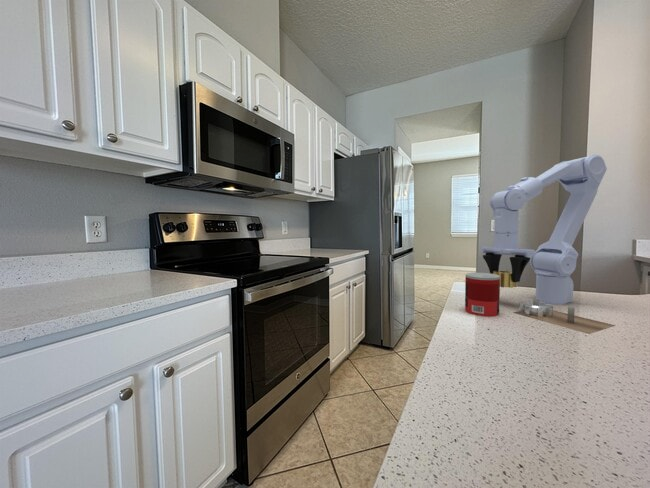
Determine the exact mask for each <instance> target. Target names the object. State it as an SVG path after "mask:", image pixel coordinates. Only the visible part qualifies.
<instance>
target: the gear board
mask: <svg viewBox="0 0 650 488" xmlns="http://www.w3.org/2000/svg"><path fill="white" fill-rule="evenodd" d="M532 301H533V305H536V306H539V303H540V301H539V300H536V298H534V299H532ZM575 309H576V307H573V306H572V307H571V306H568V307H567V313H565V312H561V311H558V310H554V309H553V315H552V317H546V316H544V317H543V318H541V317H537V316H533V315H530V316H528V315H525V313H520V312H519V310H517V311H514V312H513V311H512V313H513V314H517V315H521V316H524V317H527V318H531V319H534V320H539V321H541V322H545V323H548V324H552V325H555V326H559V327H563V328H566V329H571V330H574V331H578V332H581V333H583V334H584V333H585V334H589V335H591V334H594V333H597V332H600V331H602V330H606V329H610V328H613V327H615V326H616V325H615V324H611V323H608V322H603V321H599V320H596V319H591V318H587V317H583V316H578V315H575V314H576V313H575V312H576V311H575Z"/></svg>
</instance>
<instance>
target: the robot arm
mask: <svg viewBox="0 0 650 488" xmlns="http://www.w3.org/2000/svg"><path fill="white" fill-rule="evenodd" d="M607 170H608V169H607V166H606V163H605V159H604V158H603V157H602V156H601V155H599V154H590V155H589V156H584V157H579V158H575V159H570V160H564V161H561V162H559V163H557V164H554V165H553V167H552V166H551V168H549V169H547V170H546V171H544V172H542V173H540V175H538V176H536V177H533V176H530V177H528V176H525V177H522V178H520V179H519V182H517V183H515V184H514V185H513V184H512V185H509V186H507V187H506V189H505V190H502V191H497V192H496V193H494V195H492V197H491V201H489V206H490V208H491V210H492V216H493V217H494V223H493V224H494V225H493V226H494V228H493V239H494V240H493V246H479V247H480V249H479V250H480V251H479V253H480V254H484V255H482V258H483V260H484V262H485V263H486V264H487V268H488V271H489V273H490V274H493V271H497V270H500V262H501V258H502V257H503V255H505V256H509V260H510V265H511V271H512V282H517V283H520V282H521V277H522V274H523V273H524V269H526V266H527V265H528V264H529V265H530V267H531V268H532V269H533V270H534V271H533V272H534V273H535V274H536V275H535V277H536V279H535V299H536V300H539V303H545V304H548V305H550V304H551V305H566V304H568V303H573V302H574V281H573V279H572V278H571V275H572V274H573V273H574V272H575V270H576V268H577V259H578V257H579V255H580V254H579V253H578V251H577V250H576V249H575V248H574V247H573V244H574V243H575V240H576V238H577V236H578V234H579V231H580V230H581V228H582V225H583V223H584V221H585V219H586V217H587V216H588V213H589V211H590V209H591V207H592V205H593V203H594V200H595V198H596V196H597V193H598V190H599V187H600V185H601V183H602V180H603V178H604V176H605V174H606V172H607ZM557 181H558V182H559V183H560V185H561V186H562V188H563V189H564V190H565V191H566V192H569V193H570V196H569V198H568V200H567V202H566V203H565V206H564V208H563V210H562V212H561V214H560V217H559V218H558V221H557V223H556V224H555V227H554V230H553V231H552V234H551V235H550V238H549V240H547V241H546V242H544V243H542V244H540V245H538V248H537V249H536V250H535V249H529V248H520V247H518V246H519V244H518V243H519V212H520V211H519V210H521V209H522V208H523V207H524V205H525V203H526V202H528V201H530V200H532V199H533V198H536V197H538V196H539V195H540V194H542V192H543V188H545V187H548V186H549V185H552V184H553V183H555V182H557Z"/></svg>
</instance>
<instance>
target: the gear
mask: <svg viewBox="0 0 650 488" xmlns="http://www.w3.org/2000/svg"><path fill="white" fill-rule="evenodd" d="M518 309H519V310H518V311H519V312H520V313H525V315H528V316H530V315H533V316H537V317H541V318H543V317H544V316H546V317H552V315H553V310H554V306H553V305H550V304H547V303H543V302H539V306H536V305H533V300H531V301H521V302H520V303H519V308H518Z"/></svg>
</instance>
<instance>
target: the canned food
mask: <svg viewBox="0 0 650 488" xmlns="http://www.w3.org/2000/svg"><path fill="white" fill-rule="evenodd" d="M464 281H465V283H464V285H465V286H464V287H465V290H464V292H465V293H464V297H465V299H464V300H465V301H464V311H465V312H466V313H468V314H471V315H475V316H479V317H486V318H487V317H488V318H490V317H497V316H499V315H500V294H501V293H500V292H501V286H500V276H499V275H496V274H490V272H469V273H468V272H467V273H465V279H464Z"/></svg>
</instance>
